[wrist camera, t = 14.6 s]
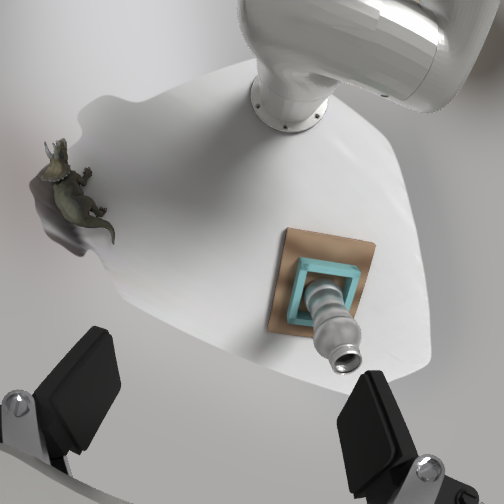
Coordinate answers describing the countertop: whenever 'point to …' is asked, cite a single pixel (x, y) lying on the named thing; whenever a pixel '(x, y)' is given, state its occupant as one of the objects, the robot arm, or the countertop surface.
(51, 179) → the dinosaur figurine
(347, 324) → the silver aluminum bottle
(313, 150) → the countertop surface
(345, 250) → the walnut jig board
